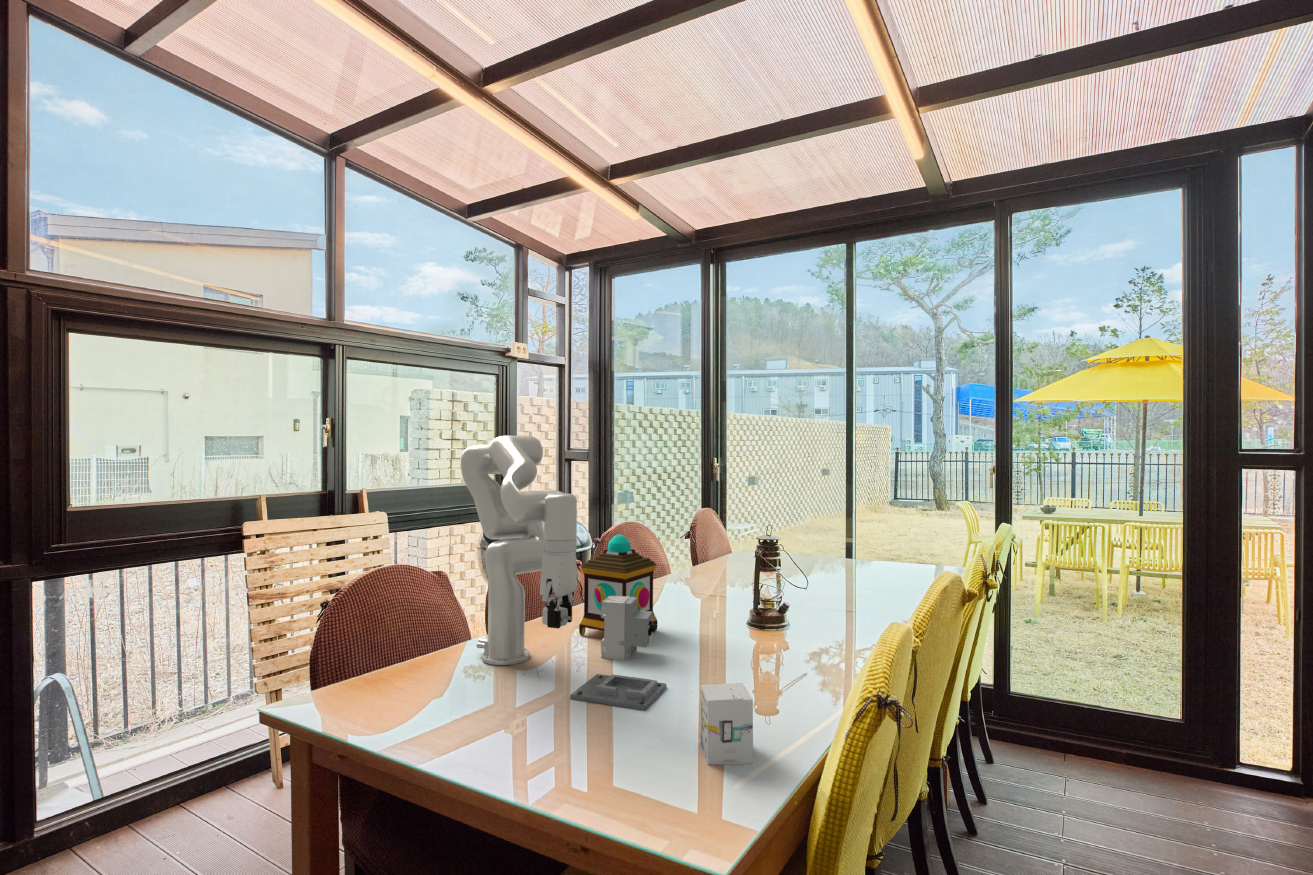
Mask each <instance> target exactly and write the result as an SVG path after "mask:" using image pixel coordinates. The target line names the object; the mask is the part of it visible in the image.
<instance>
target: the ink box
mask: <svg viewBox="0 0 1313 875" xmlns="http://www.w3.org/2000/svg"><path fill="white" fill-rule="evenodd" d="M753 702H754V699H753V698H752V696H751V694H750V693H749V691H748V690H747V688H746V686H745V684H744V683H743V682H741V683H734V682H733V683H731V682H730V683H711V684H710V683H709V684H707V683H706V684H703V683H702V684H700V745H701V749H702V752H703V754H704V757H705V760H706V763H707V765H708V766H709V765H710V766H712V765H714V766H715V765H716V766H717V765H742V764H743V765H745V764H747V765H748V764H753V763H754V726H753V725H754V716H753V715H754V713H753V712H754V707H753V706H754V703H753Z"/></svg>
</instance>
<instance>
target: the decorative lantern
mask: <svg viewBox="0 0 1313 875" xmlns="http://www.w3.org/2000/svg"><path fill="white" fill-rule="evenodd" d="M657 565H658V564H657V563H656V562H655V561H654V560H652V559H650V557H644V556H643V555H640V553H639V552H636V549H633V548H631V541H630V540H629V539H628V538H627V537H626V536H625V535H623V534H616V535H614V536H613V537H612V538H611V539H610V540H609V542H608V544H607V549H604V550H603V553H599V555H598V556H596V557H595V558H591V559H588V560H587V562H584V563H583V565H581V566H580V570H581V572H582V573H583V577H584V584H583V586H584V587H583V588H584V589H583V591H584V592H583V602H584V603H583V617H582V618H581V620H580V622H579V626H578V631H579V636H584V635H585V634H586V628H587V629H590V630H591V629H592V630H596V631H601V632H604V618H601V608H602V602H603V601H604V600H605V599H606V598H608V597H609V596H625V597H637V611H650V612H653V625H657V626H658V619H657V617H656V615H655V612H654V572H655V570H656V568H657ZM603 614H604V613H603ZM655 632H657V630H655Z"/></svg>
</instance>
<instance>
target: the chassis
mask: <svg viewBox="0 0 1313 875" xmlns="http://www.w3.org/2000/svg"><path fill="white" fill-rule="evenodd" d="M666 689H667V683H665V682H658V679H656V680H655V679H650V678H643V677H636V676H635V677H634V676H627V675H619V674H611V675H607V674H606V675H605V674H601V673H599V674H597V673H596V674H595V675H593V676H592V677H591V678H590V679H588V681H586V682H585V683H583V684H582V685H581V686H580V687H578V688H577V689H576V690H574V691H573V692H572V693H570V699H571V700H576V701H582V702H587V703H588V702H589V703H596V704H600V705H602V704H603V705H608V706H613V707H621V708H628V709H634V710H635V709H636V710H641V711H646V710H647V709H648V708H650V707H651V705H652V704H653V703H654V702H655V701H656V700H657V698H659V697H660V695H661V694H662V693H663V692H664V691H665V690H666Z"/></svg>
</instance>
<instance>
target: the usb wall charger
mask: <svg viewBox="0 0 1313 875" xmlns="http://www.w3.org/2000/svg"><path fill="white" fill-rule="evenodd" d="M559 611H561V627H564V626H566V625H567V624H568V623H569V622H568V620H572V621H573V616H572V617H570V616H568V610H567V608H563V607H559ZM541 613H542V614H541V616H542V617H541V619H542V620H541V622H542V624H543V625H546V626H547V610H546V606H545V607H543V608H542V611H541ZM570 618H571V619H570Z"/></svg>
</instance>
